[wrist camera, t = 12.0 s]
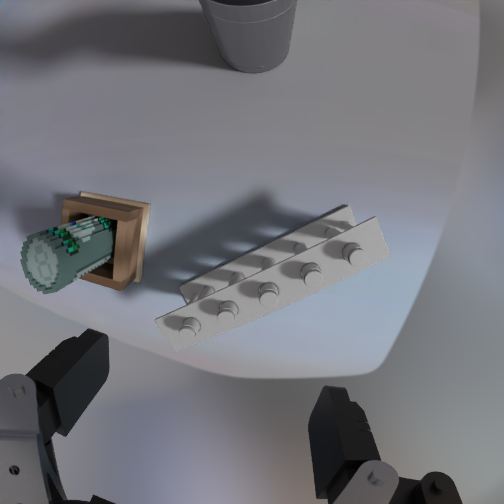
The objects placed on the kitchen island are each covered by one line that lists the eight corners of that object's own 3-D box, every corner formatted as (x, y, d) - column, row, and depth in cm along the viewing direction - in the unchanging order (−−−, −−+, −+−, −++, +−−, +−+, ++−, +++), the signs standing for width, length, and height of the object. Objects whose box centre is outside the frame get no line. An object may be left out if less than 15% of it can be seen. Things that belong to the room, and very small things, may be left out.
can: (120, 208, 38) (52, 227, 24) (131, 251, 40) (70, 289, 25) (85, 219, 39) (15, 241, 24) (96, 259, 40) (32, 296, 26)
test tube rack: (195, 312, 42) (168, 363, 30) (179, 285, 42) (145, 329, 29) (360, 235, 39) (400, 261, 26) (347, 204, 38) (384, 218, 25)
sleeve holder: (84, 191, 39) (60, 194, 33) (150, 203, 39) (132, 208, 33) (79, 263, 42) (57, 274, 36) (141, 280, 42) (123, 295, 36)
